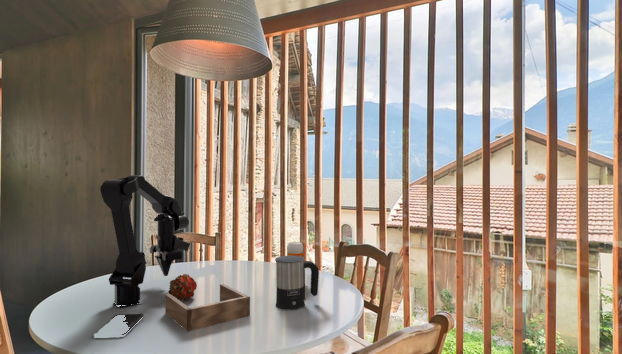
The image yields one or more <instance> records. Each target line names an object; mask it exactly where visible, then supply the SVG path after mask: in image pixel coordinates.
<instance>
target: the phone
mask: <svg viewBox="0 0 622 354" xmlns="http://www.w3.org/2000/svg"><path fill="white" fill-rule="evenodd" d="M117 315H125V317H126V320H125V321H123V322H128V323H126V324H127V325H128V327H130V328H129V330H130V329H131V328H132V327H133V326H134V325H135V324H136V323H137V322H138V321H139V320H140V319H141V318H142V317H143V318H144V314H143V313H122V314H120V313H119V314H115V315H114V316H113V317H112V318H114V317H115V316H117ZM125 317H124V318H125ZM143 318H142V319H143ZM129 330H128V331H129ZM128 331H127V332H128ZM127 332H126V333H127ZM126 333H124V334H126ZM124 334H122V335H124Z"/></svg>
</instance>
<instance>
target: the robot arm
mask: <svg viewBox="0 0 622 354" xmlns="http://www.w3.org/2000/svg"><path fill="white" fill-rule="evenodd" d="M99 189H100V191H99V192H100V194H101V197H102V200H103V202H104V204H106V206H108V208H109V209H110V211H111V217H112V222H113V226H114V232H115V233H114V234H115V238H116V242H117V247H118V255H117V257H116V260H115V268H114V270H113V271H112V273H111V275H110V276H109V278H108V283H109V285H110V286H113V285H114V301H115V303H116V305H121V306H122V305H131V304H136V305H138V304H137V303H140V304H141V302H140V300H141V286H139V285H141V284H144V280H145V275H146V270H147V267H146V266H147V261H146V255H145V252H143V251H139V250H138V249H137V245H136V239H135V233H134V229H133V221H132V217H131V216H132V215H131V213H130V211H131V210H130V205H131V202H132V200H133V198H134V197H133V193H137V194H138V195H140V196H141V197H142V198H144V199H145V200H146V201H148V202H149V203H150V204H151V208H152V210H153V211H154V212H155V213H156V214H158V215H157V216H156V217H155V218H154V219H153V221H154V222H157V235H155V239H156V240H157V244H152V245H150V248H149V254H151V255H153V254H155V253H156V255H155V256H154V258H155V260H156V262H157V263H158V265H159V268H160V270H161V272H162V275H163V276H164V277H167V276H169V272H170V270H171V266H172V263H173V262H174V261H176V260H182V259H184V253H183V251H185V252H189V249H190V247H191V242H188V241H185V240H184V238H183V237H180V236H177V235H175V232H176V231H181V230H186V229H187V228H188V226H189V225H190V221H189V219H188V216H187V215H185V212H184V211H182V210H181V207H180V206H179V204H178V200H177V199H176V198H174V197H172V196H169V195H166V194H164V193H162V192H160V191H159V190H158V189H157V188H156V187H155V186H153V185H152V184H151V183H150V182H149V181H147V180H146V178H145V176H143V175H140V174H138V175H136V174H135V175H128V176H125V177H122V178H121V177H120V178H117V179H106V180H104V181H103V182H102V184H101V185H100V187H99ZM181 250H183V251H181ZM131 306H132V305H131Z"/></svg>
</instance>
